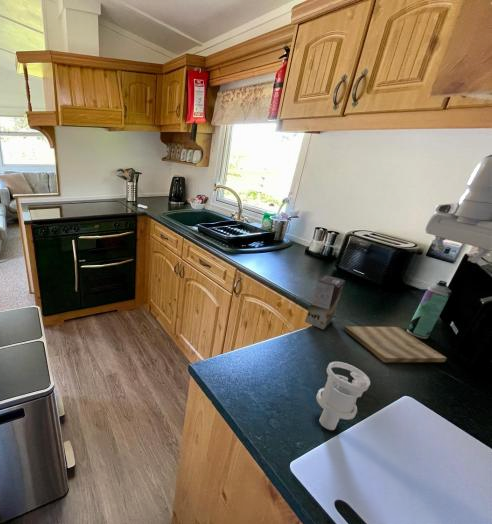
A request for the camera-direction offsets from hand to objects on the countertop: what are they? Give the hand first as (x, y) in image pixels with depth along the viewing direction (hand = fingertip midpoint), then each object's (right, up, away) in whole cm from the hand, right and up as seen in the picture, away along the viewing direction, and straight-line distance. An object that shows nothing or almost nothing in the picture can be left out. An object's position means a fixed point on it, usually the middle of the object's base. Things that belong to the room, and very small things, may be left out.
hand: (454, 256), depth 88 cm
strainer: (-56, -37, -26) cm, 72 cm away
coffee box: (-34, -23, +14) cm, 43 cm away
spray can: (-1, -27, +11) cm, 29 cm away
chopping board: (-16, -28, +4) cm, 33 cm away
